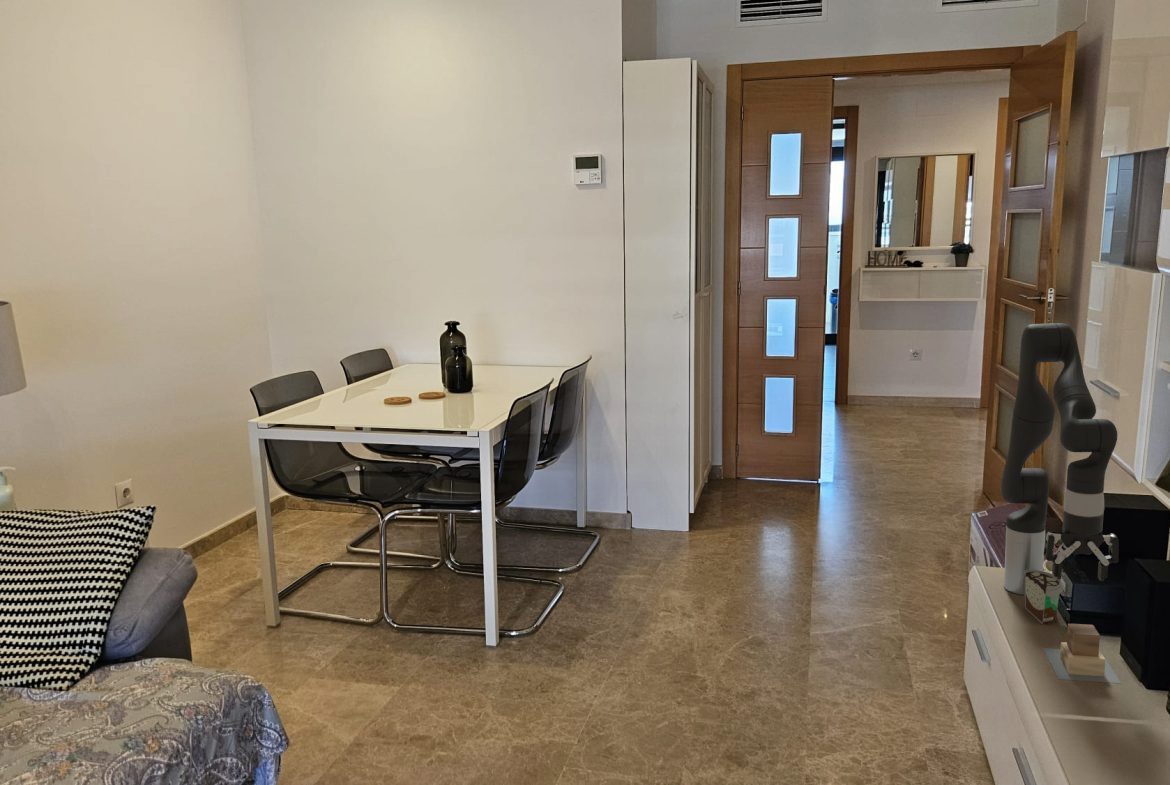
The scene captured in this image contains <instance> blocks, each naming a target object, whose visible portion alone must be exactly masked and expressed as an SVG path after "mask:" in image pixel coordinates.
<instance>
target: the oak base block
mask: <svg viewBox="0 0 1170 785" xmlns="http://www.w3.org/2000/svg"><path fill="white" fill-rule="evenodd" d="M1060 649H1061V651H1060V659H1061V661H1062V663H1063V665H1064V667H1065V668H1066V670H1067V672H1068V674H1075V675H1090V676H1104V674H1105V659H1106V657H1105V656H1104V655H1102V654H1103V653H1102V651H1101V650H1100V649H1099V656H1098V657H1094V656H1078V655H1073V654H1072V653H1071V651H1070V649H1069V647H1068V646H1067V641H1061V642H1060ZM1104 657H1105V658H1104Z"/></svg>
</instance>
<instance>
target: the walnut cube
mask: <svg viewBox="0 0 1170 785" xmlns="http://www.w3.org/2000/svg"><path fill="white" fill-rule="evenodd" d="M1100 639H1101V636H1100V633H1099V632H1098V630H1097V629H1096V627H1095V625H1093V624H1086V623H1085V624H1084V623H1083V624H1082V623H1081V624H1080V623H1067V634H1066V642H1067V646H1068V647H1069V649H1070V651H1071V653H1072V654H1073V655H1078V656H1094V657H1098V656H1099V650H1100Z"/></svg>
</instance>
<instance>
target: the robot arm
mask: <svg viewBox="0 0 1170 785" xmlns="http://www.w3.org/2000/svg"><path fill="white" fill-rule="evenodd" d="M1081 358H1082V357H1081V354H1080V350H1079V345H1078V340H1077V336H1076V334H1075V332H1074V329H1073V328H1072V327H1071V325H1069V324H1068V323H1062V322H1057V323H1056V322H1054V323H1053V322H1049V323H1033V324H1032V323H1031V324H1028V325H1026V326H1025V327H1024V329H1023V331H1022V334H1021V339H1020V350H1019V368H1018V381H1017V388H1016V394H1015V398H1014V399H1015V401H1014V407H1013V411H1012V418H1011V427H1010V428H1011V429H1010V437H1009V444H1008V450H1007V456H1006V458H1005V459H1006V460H1005V463H1004V467H1003V472H1002V476H1001V477H1002V478H1001V483H1000V485H1001V486H1000V488H1001V489H1000V490H1001V491H1000V492H1001V495H1002V498H1003V500H1004V501H1005V502H1007V503H1010V504H1028V505H1027V506H1025V507H1022V509H1019V510H1014V511H1012V512H1011V513H1008V515H1007V517H1006V522H1005V524H1006V525H1005V528H1006V529H1005V550H1004V551H1005V554H1004V573H1003V574H1004V576H1003V582H1004V583H1003V587H1004V589H1006V591H1009V592H1010V593H1014V594H1017V595H1024V596H1025V577H1024V572H1025V570H1038V571H1044V562H1045V559H1046V561H1047V562H1052V566H1051V568H1052V571H1051V574H1053V575H1054V576H1055V577H1056V578H1057V579H1060V580H1061V579H1062V567H1063V564H1062V562H1063V561H1064V560H1065V559H1066V558H1068V557H1069V556H1070V555H1071V554H1073V555H1088V556H1090V555H1091V554H1094V555H1095V556H1096V557H1097V559H1098V560H1099V561H1098V564H1097V565H1098V566H1097V579H1098V580H1099V581H1100V582H1104V581H1105V579H1107V578H1108V572H1109V565H1110V564H1117V563H1119V560H1120V559H1119V556H1120V555H1119V552H1120V551H1119V550H1120V549H1119V548H1120V547H1119V546H1120V543H1119V542H1120V540H1119V537H1118V536H1117V535H1116V534H1115V533H1113V532H1110V533H1109V534H1106V535H1105V534H1103V524H1104V523H1103V522H1104V511H1105V497H1104V496H1105V493H1104V489H1105V478H1106V471H1107V468H1108V465H1109V462H1110V460H1111V457H1112V455H1113V453H1114V451H1115V448H1116V445H1117V443H1118V430H1117V427H1116V425H1115V423H1113V421H1112V420H1109V419H1107V418H1095V416H1096V413H1097V406H1096V404H1095V401H1094V398H1093V397H1092V394H1091V392H1090V389H1089V388H1088V385H1087V381H1086V379H1085V373H1084V369H1083V364H1082V359H1081ZM1060 362H1062V363H1063V364H1064V365H1063V368H1062V370H1061V372H1060V374H1059V375H1058V377H1057V378H1056V380H1055V382H1054V384H1053V387H1052V390H1053V392H1052V393H1053V398H1054V401H1053V400H1052V397H1051V396H1050V394H1049V392H1048V391H1047V390H1046V389H1045V387H1044V385H1043V384H1042V382H1041V380H1040V378H1039V377H1038V374H1037V366H1038V363H1060ZM1054 402H1055V404H1054ZM1055 405H1056V406H1055ZM1056 408H1057V409H1058V413H1059V416H1060V432H1059V438H1060V439H1059V440H1060V444H1061V446H1062V447H1063V448H1064V449H1065V450H1066V451H1069V452H1071V453H1090V454H1089V456H1087V457H1086V458H1083V459H1078V460H1074V461H1071V462H1070V463H1069V464H1068V466H1067V471H1066V472H1067V473H1066V486H1065V488H1066V489H1065V494H1064V499H1063V513H1062V514H1063V516H1062V517H1063V519H1062V530H1061V533H1053V532H1052V531H1046V524H1047V518H1048V517H1047V516H1048V515H1047V514H1048V513H1047V512H1048V503H1049V494H1050V478H1049V475H1048V472H1047V471H1046V470H1045V469H1044V468H1041V467H1024V465H1025V463H1026V461H1027V460H1028V458H1029V457H1030V456H1031V455H1032V454H1033V453H1034V452H1035V451H1036V450H1037V449H1039V448H1040V447H1041V446H1042V445H1043V443H1045V442H1046V440H1047V439H1048V438H1049V436H1050V435H1051V433H1052V431H1053V425H1054V421H1055V420H1054V419H1055V415H1056ZM1059 540H1061V542H1062V544H1061V545H1060V546H1059V547H1058V549H1057V550H1056V552H1055V553H1054V547H1055V545H1056V544H1057V543H1058V541H1059ZM1104 542H1105V543H1106V545H1108V555H1104V554H1103V552H1102V551H1101V550H1100V549H1099V547H1100V546H1101V545H1102V544H1103V543H1104ZM1053 553H1054V554H1053Z"/></svg>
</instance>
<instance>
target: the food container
mask: <svg viewBox="0 0 1170 785" xmlns="http://www.w3.org/2000/svg"><path fill="white" fill-rule="evenodd" d="M1024 577H1025V595H1024V609H1025V610H1027V612H1028V613H1030V612H1031V613H1030V614H1031V615H1032V616H1033V617H1034V618H1035V619H1037V621H1038V622H1039V623H1040V624H1041V625H1049V623H1050V624H1052V623H1054V622H1055V621H1056V618H1057V614H1058V605H1059V599H1060V595H1061V594H1062V593H1063V591H1064V588H1063V583H1062V581H1061V579H1057V578H1056V577H1055V576H1054V575H1053V573H1050V572H1047V571H1044V570H1043V571H1038V570H1025V572H1024Z"/></svg>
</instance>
